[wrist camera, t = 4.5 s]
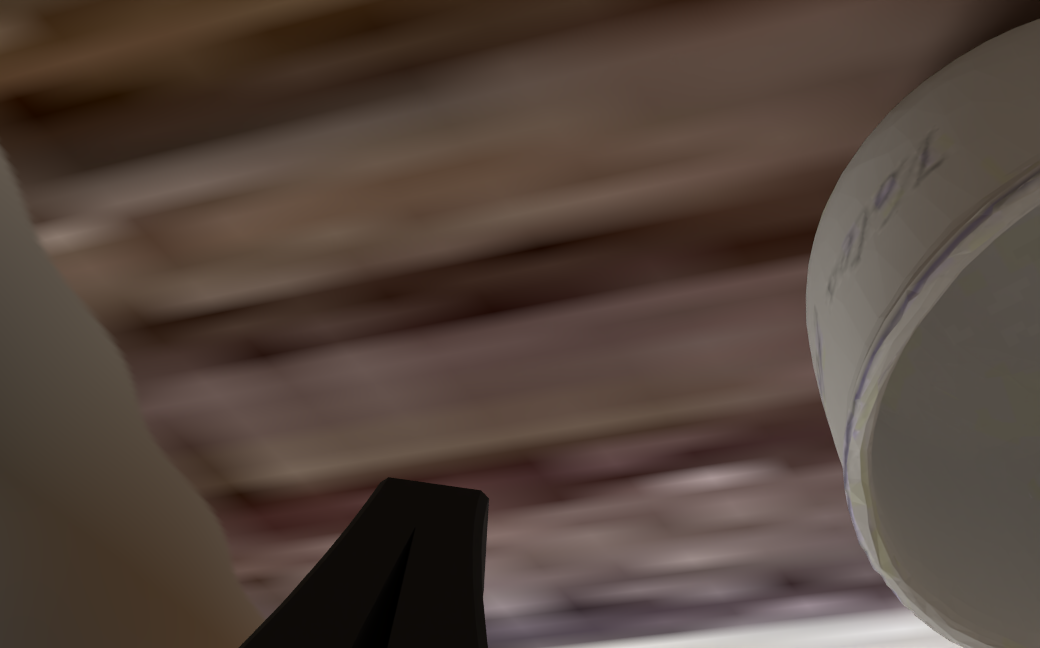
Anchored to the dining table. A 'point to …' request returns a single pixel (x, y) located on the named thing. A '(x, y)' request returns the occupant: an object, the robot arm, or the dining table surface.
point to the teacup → (942, 343)
